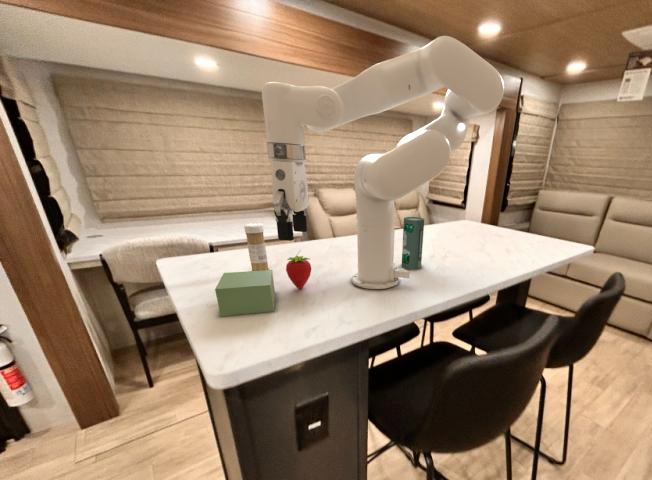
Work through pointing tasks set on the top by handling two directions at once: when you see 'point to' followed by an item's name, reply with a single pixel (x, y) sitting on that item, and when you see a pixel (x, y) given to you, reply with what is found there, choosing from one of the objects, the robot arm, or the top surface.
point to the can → (412, 242)
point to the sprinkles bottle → (256, 246)
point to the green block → (245, 292)
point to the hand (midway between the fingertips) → (293, 235)
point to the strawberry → (298, 270)
